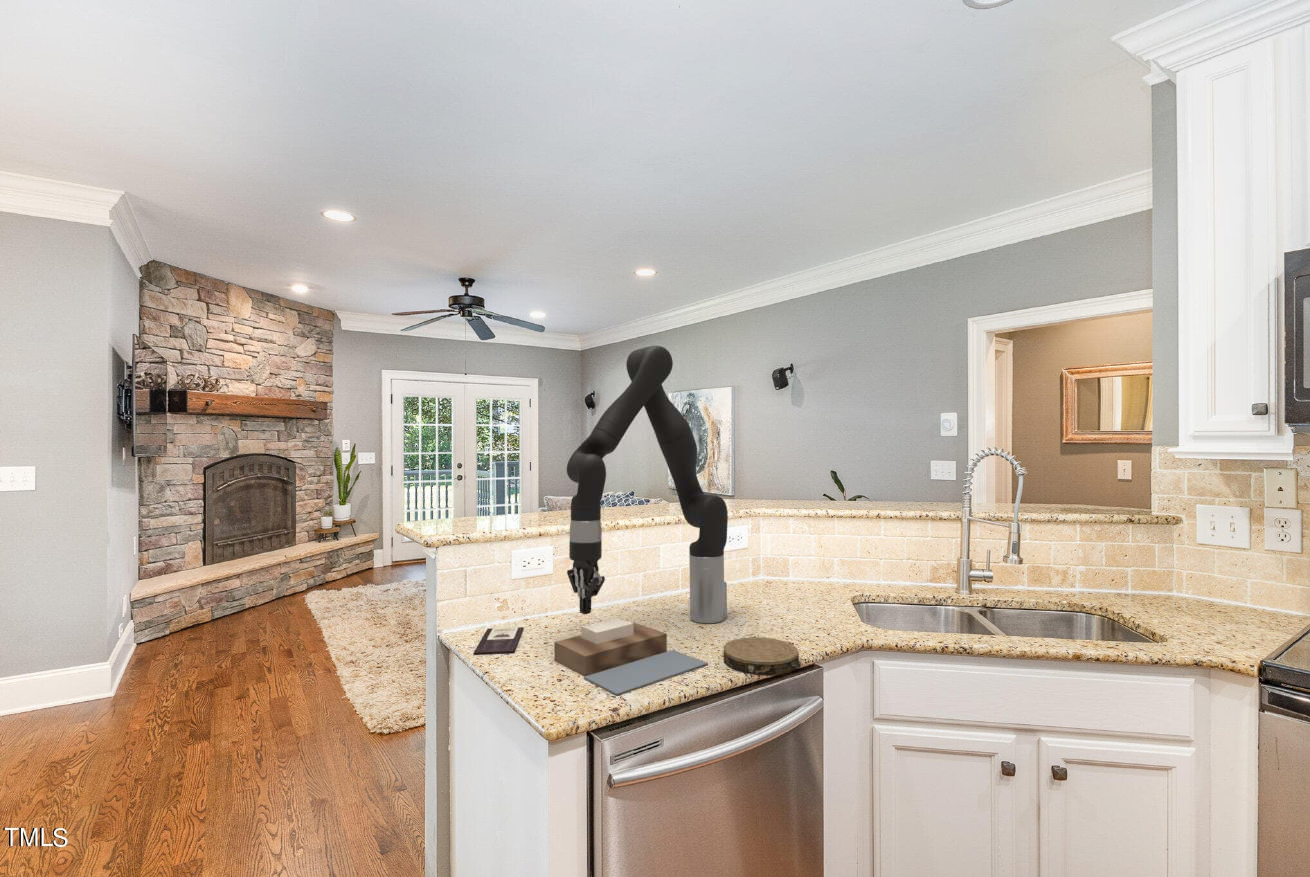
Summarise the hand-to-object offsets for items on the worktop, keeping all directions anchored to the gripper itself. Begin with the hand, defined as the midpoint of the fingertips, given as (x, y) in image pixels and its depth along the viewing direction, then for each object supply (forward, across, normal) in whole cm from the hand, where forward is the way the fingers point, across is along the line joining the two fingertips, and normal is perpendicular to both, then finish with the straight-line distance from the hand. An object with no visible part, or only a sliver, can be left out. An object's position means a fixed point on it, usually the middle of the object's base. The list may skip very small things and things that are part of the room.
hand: (585, 613), depth 142 cm
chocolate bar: (+8, +16, +14) cm, 23 cm away
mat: (+7, -22, 0) cm, 24 cm away
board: (+7, -10, 0) cm, 12 cm away
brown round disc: (+8, -34, -22) cm, 41 cm away
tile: (+2, -8, 0) cm, 9 cm away
